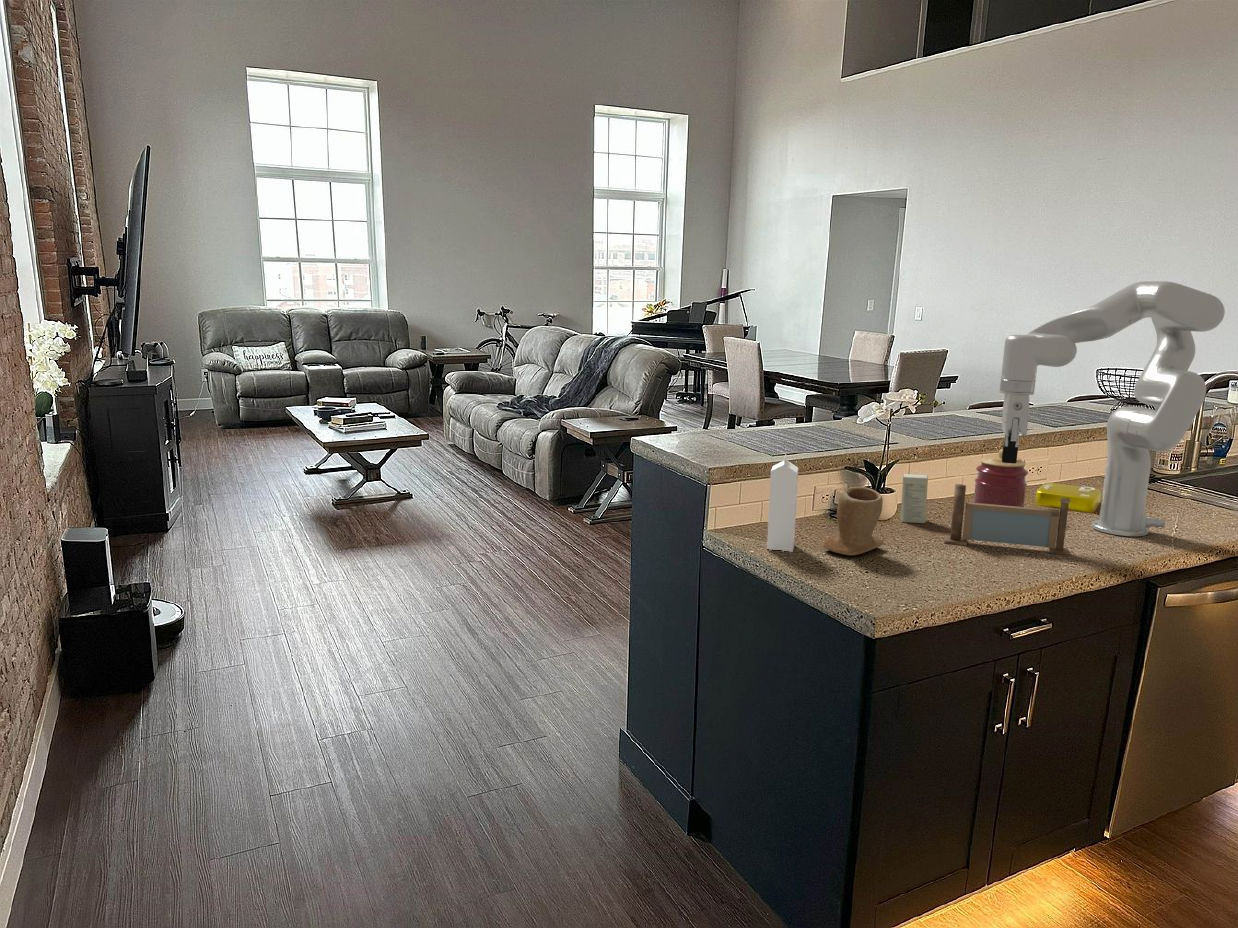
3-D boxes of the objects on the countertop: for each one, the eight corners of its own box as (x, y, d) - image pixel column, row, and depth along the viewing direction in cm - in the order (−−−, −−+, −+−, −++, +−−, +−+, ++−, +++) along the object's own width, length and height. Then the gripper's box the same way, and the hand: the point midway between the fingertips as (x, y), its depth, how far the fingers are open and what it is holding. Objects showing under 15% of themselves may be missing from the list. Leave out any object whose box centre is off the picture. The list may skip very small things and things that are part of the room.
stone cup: (858, 563, 188) (863, 498, 185) (815, 550, 197) (819, 488, 194) (897, 550, 198) (902, 488, 194) (854, 539, 206) (858, 479, 203)
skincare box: (925, 519, 224) (929, 474, 221) (925, 524, 220) (929, 478, 217) (899, 517, 226) (903, 472, 223) (899, 521, 222) (903, 476, 219)
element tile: (1043, 495, 253) (1045, 480, 252) (1100, 503, 244) (1102, 487, 243) (1033, 505, 241) (1035, 489, 240) (1092, 514, 233) (1095, 497, 232)
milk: (766, 550, 197) (770, 457, 192) (768, 542, 203) (772, 452, 198) (793, 552, 195) (797, 459, 191) (794, 544, 201) (798, 453, 197)
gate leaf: (962, 539, 204) (966, 503, 202) (962, 537, 205) (966, 502, 203) (1055, 548, 197) (1059, 511, 195) (1054, 546, 199) (1058, 510, 197)
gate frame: (944, 543, 203) (949, 486, 201) (943, 537, 208) (949, 482, 205) (1070, 555, 195) (1077, 496, 192) (1066, 549, 199) (1073, 492, 196)
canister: (972, 515, 229) (978, 451, 225) (971, 504, 241) (977, 443, 237) (1025, 520, 224) (1032, 455, 221) (1022, 509, 236) (1029, 446, 232)
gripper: (1038, 391, 194) (1029, 469, 198) (1030, 384, 208) (1022, 458, 212) (1002, 389, 196) (994, 467, 200) (997, 383, 210) (989, 455, 214)
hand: (1008, 462), depth 206 cm, fingers closed
